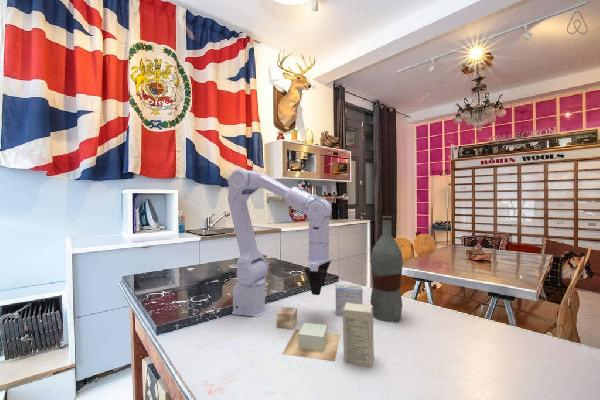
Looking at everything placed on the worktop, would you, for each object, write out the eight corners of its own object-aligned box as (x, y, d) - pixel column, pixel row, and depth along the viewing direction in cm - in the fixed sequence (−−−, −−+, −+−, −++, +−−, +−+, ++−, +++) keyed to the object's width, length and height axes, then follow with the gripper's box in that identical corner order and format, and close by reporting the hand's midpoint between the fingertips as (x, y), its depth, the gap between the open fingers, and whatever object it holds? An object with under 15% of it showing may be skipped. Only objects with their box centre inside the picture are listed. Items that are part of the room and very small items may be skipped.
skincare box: (374, 358, 65) (374, 304, 65) (372, 369, 61) (372, 312, 61) (345, 353, 68) (345, 301, 67) (342, 363, 63) (342, 308, 63)
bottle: (367, 309, 92) (368, 215, 91) (396, 310, 91) (397, 215, 90) (373, 323, 82) (374, 218, 81) (406, 323, 82) (408, 218, 81)
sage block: (298, 348, 69) (298, 334, 69) (304, 336, 75) (304, 322, 74) (323, 351, 67) (323, 337, 67) (327, 338, 73) (327, 325, 73)
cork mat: (282, 355, 67) (282, 353, 67) (295, 330, 78) (295, 329, 78) (334, 363, 64) (334, 361, 64) (340, 336, 75) (340, 334, 75)
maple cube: (276, 329, 79) (276, 313, 79) (281, 322, 84) (281, 306, 83) (292, 331, 78) (292, 314, 78) (296, 323, 82) (296, 308, 82)
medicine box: (360, 311, 90) (361, 284, 90) (362, 318, 86) (362, 289, 86) (335, 310, 91) (335, 283, 91) (335, 316, 87) (335, 288, 86)
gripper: (329, 247, 74) (328, 300, 74) (335, 238, 88) (335, 282, 88) (302, 246, 75) (302, 297, 76) (312, 237, 90) (312, 280, 90)
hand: (318, 289), depth 82 cm, fingers open, 7 cm apart
